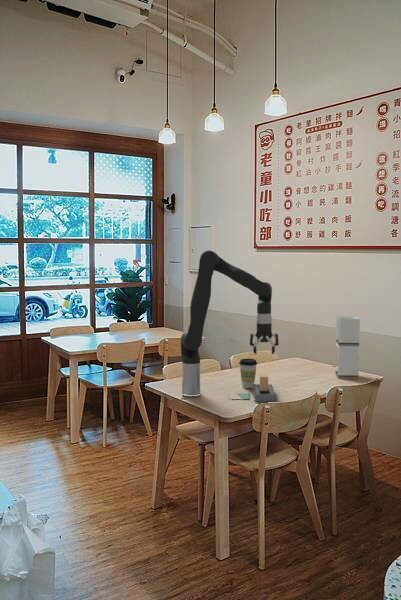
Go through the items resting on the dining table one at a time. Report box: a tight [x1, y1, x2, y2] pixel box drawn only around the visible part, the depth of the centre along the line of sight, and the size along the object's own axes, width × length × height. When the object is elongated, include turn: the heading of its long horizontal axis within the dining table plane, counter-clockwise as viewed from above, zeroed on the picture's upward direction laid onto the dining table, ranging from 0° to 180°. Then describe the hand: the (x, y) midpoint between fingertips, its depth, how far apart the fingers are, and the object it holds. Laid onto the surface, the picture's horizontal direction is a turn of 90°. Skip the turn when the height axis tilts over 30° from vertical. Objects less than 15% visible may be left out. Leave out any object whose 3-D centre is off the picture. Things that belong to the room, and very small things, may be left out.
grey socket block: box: [252, 383, 277, 403], centre depth 271 cm, size 10×20×4 cm, turn 178°
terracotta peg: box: [259, 374, 269, 391], centre depth 271 cm, size 4×4×11 cm
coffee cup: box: [238, 358, 258, 389], centre depth 290 cm, size 10×10×15 cm
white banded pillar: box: [334, 315, 361, 380], centre depth 312 cm, size 11×11×35 cm
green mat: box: [234, 392, 250, 400], centre depth 272 cm, size 10×10×1 cm
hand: (264, 353), depth 270 cm, fingers open, 8 cm apart
